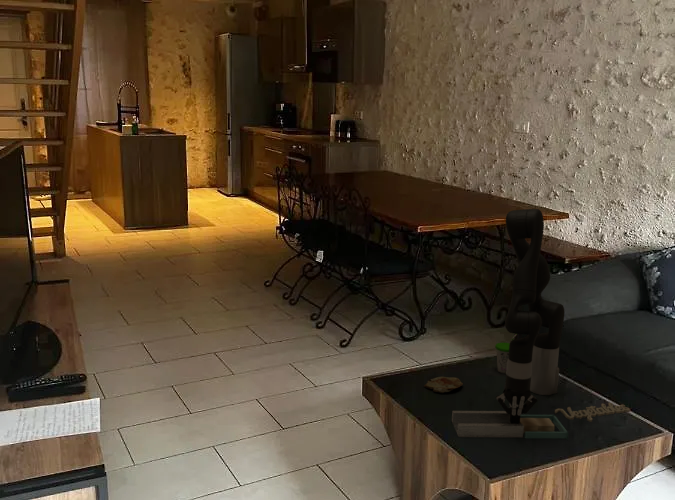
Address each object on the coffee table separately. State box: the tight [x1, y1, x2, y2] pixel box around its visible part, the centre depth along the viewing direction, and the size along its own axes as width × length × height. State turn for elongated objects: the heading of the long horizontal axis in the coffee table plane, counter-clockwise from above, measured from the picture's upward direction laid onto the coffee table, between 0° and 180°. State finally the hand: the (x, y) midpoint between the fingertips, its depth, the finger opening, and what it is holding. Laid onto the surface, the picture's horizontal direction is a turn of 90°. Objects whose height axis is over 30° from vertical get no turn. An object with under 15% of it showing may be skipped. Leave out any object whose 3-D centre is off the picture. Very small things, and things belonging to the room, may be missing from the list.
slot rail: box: [451, 410, 524, 438], centre depth 205 cm, size 20×11×4 cm, turn 92°
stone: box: [423, 376, 464, 394], centre depth 237 cm, size 13×10×3 cm
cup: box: [494, 333, 518, 375], centre depth 252 cm, size 8×8×15 cm
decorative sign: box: [554, 402, 631, 423], centre depth 220 cm, size 26×1×10 cm
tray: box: [520, 414, 569, 441], centre depth 206 cm, size 13×12×3 cm
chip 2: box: [534, 418, 556, 432], centre depth 206 cm, size 5×5×3 cm
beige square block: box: [519, 418, 538, 434], centre depth 206 cm, size 5×5×3 cm
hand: (514, 424), depth 205 cm, fingers closed
